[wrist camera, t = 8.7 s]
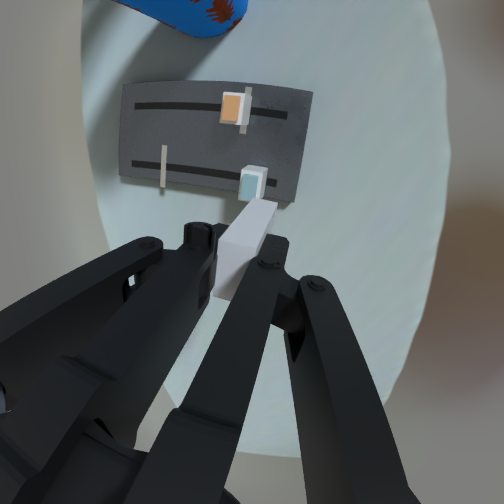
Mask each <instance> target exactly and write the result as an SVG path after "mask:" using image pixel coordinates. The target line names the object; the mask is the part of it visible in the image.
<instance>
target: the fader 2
mask: <svg viewBox="0 0 504 504" xmlns="http://www.w3.org/2000/svg"><path fill="white" fill-rule="evenodd" d="M267 172H268V168H266V167H260V166H254V165H247V166H246V167H244V168H243V169H242V170H241V178H240V186H239V194H238V200H240V201H245V202H250V201H251V200H252V199H253V197H254V198H258V199H262V198H263V196H264V192H265V185H266V178H267Z"/></svg>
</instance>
